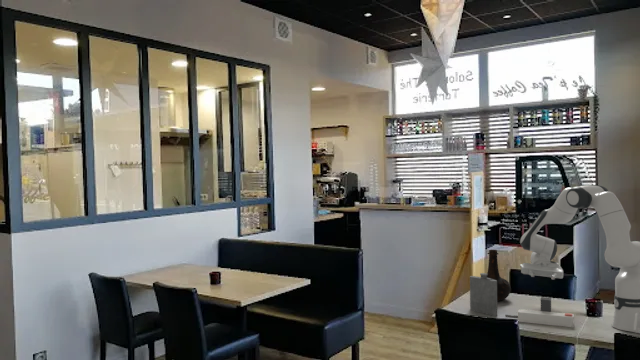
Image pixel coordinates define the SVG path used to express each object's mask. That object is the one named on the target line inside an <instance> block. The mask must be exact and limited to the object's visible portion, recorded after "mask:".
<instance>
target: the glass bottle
mask: <svg viewBox="0 0 640 360" xmlns="http://www.w3.org/2000/svg"><path fill="white" fill-rule="evenodd" d="M487 254H488V264H487V265H488V266H487V267H488V268H487V272H486V273H487V274H488V275H487V278H491V279H493V280H497V302H500V301H503V300H506V299H507V298H508V297H509V296H510V294H511V290H512V289H511V284H510V282H509V281H508V280H507V279H505V278H502V277H501V275H500V272H499V271H500V270H499V263H498V262H499V261H498V255H499V252H498V250H497V249H489V250H488V252H487Z"/></svg>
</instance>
